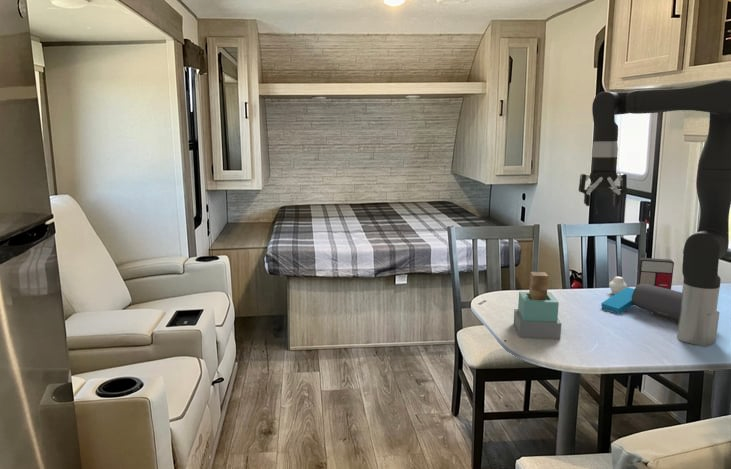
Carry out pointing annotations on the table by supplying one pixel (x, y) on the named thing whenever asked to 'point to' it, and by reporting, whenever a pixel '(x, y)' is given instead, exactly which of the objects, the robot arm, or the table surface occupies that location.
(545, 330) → the tower base
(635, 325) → the table surface
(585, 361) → the table surface
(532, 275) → the walnut brick
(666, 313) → the bluetooth speaker
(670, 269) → the color panel box
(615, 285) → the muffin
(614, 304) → the blue rectangular block
